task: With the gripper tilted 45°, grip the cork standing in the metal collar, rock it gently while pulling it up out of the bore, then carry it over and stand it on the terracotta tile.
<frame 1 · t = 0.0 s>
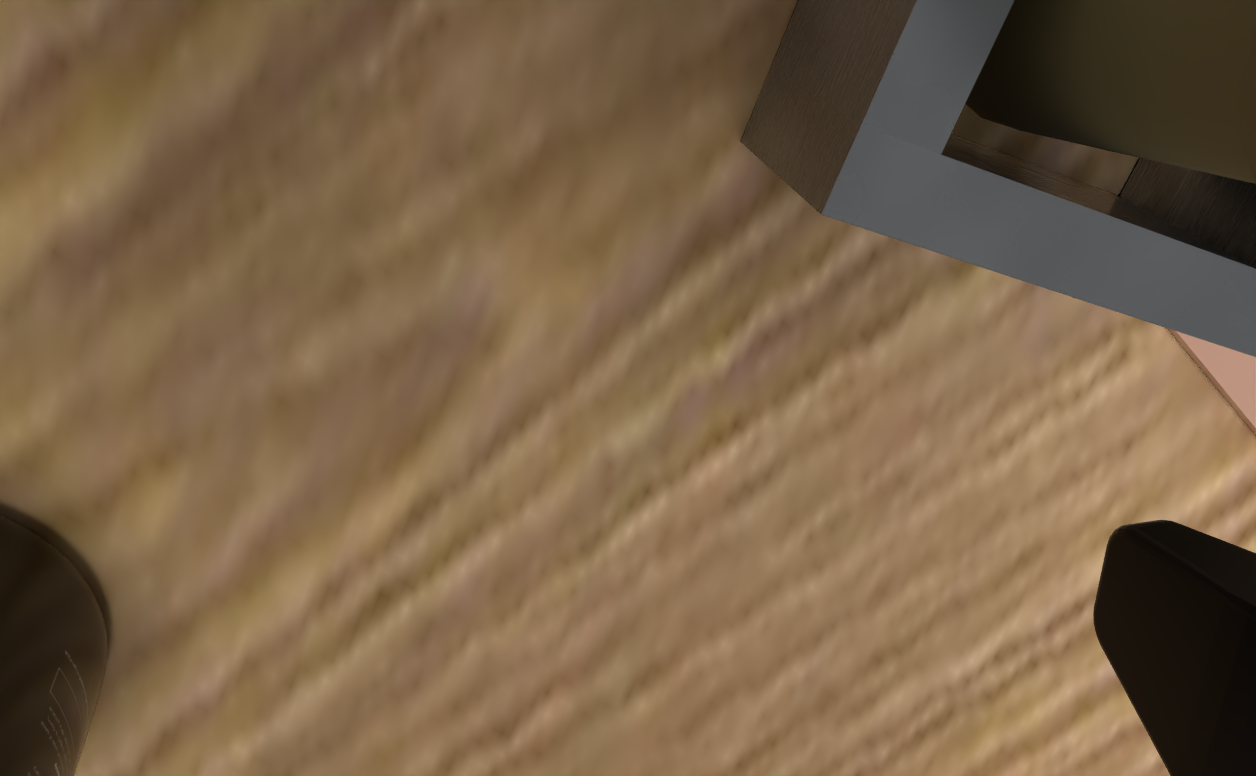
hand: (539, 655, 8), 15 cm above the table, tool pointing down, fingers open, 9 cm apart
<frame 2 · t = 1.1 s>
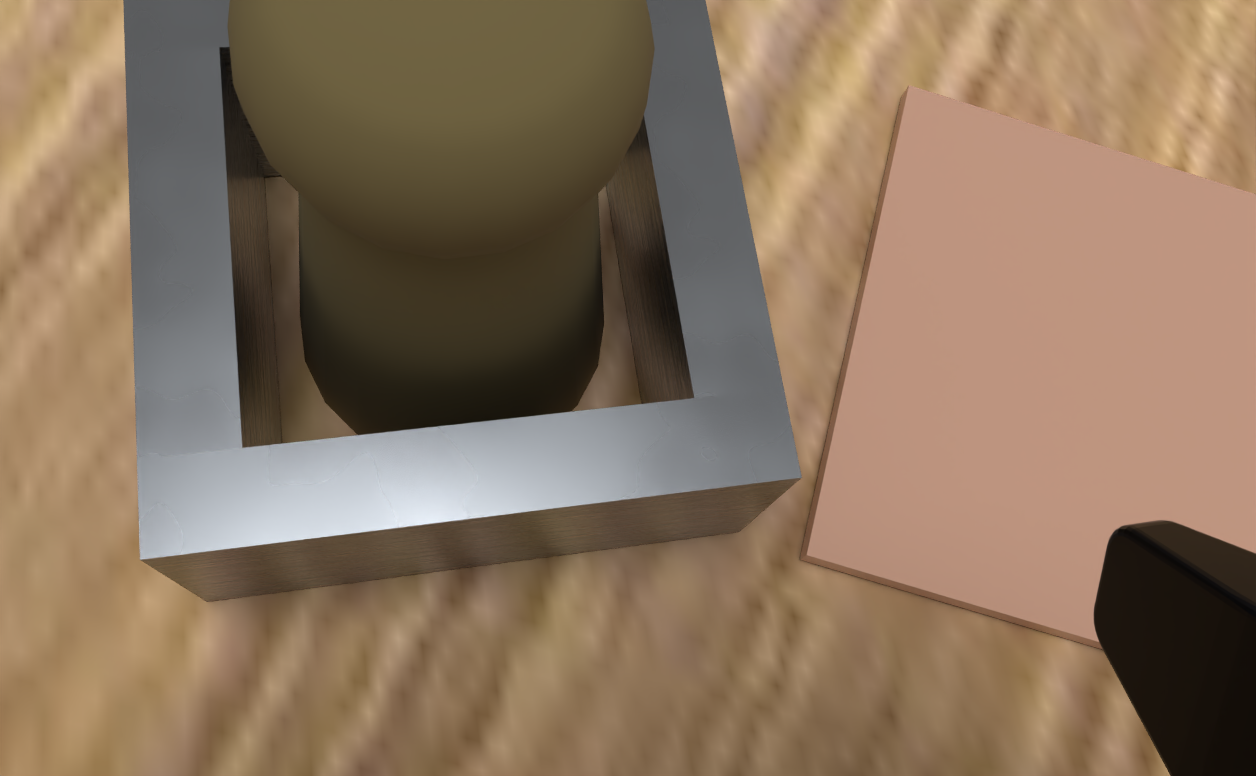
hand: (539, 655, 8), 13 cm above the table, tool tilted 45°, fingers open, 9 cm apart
cork: (454, 323, 23), resting in metal collar
metal collar: (454, 319, 23), on the table
terracotta tile: (1098, 385, 25), on the table
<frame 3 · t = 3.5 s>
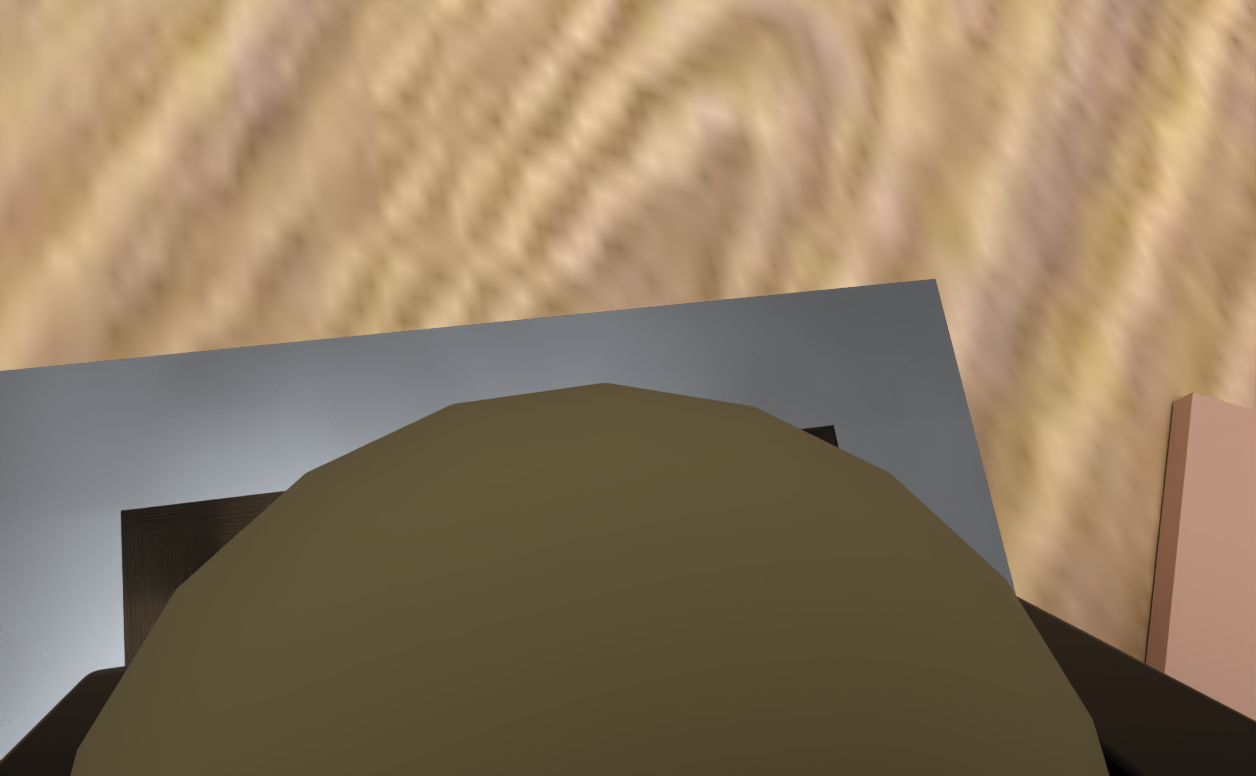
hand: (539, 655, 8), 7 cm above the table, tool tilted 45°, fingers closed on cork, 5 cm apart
when the fingers open (9 cm above the table, at t = 9.0 s): cork drops 1 cm, resting on terracotta tile.
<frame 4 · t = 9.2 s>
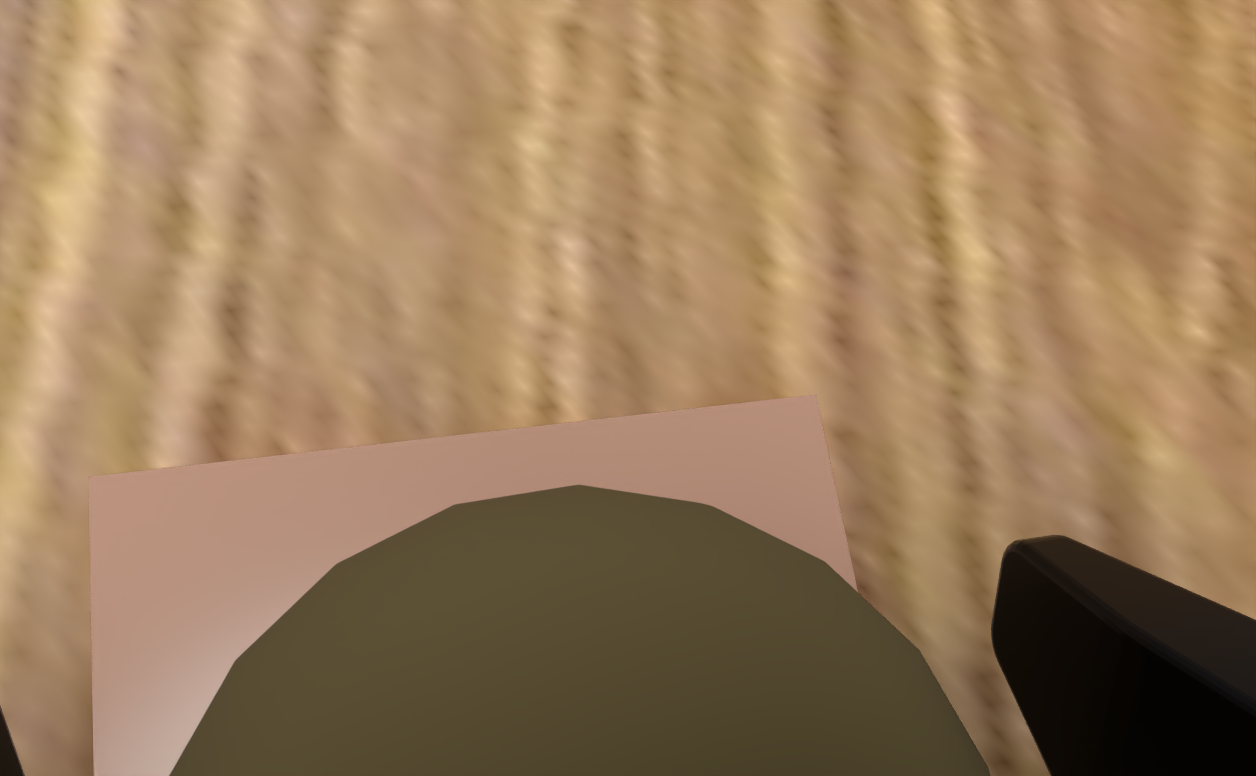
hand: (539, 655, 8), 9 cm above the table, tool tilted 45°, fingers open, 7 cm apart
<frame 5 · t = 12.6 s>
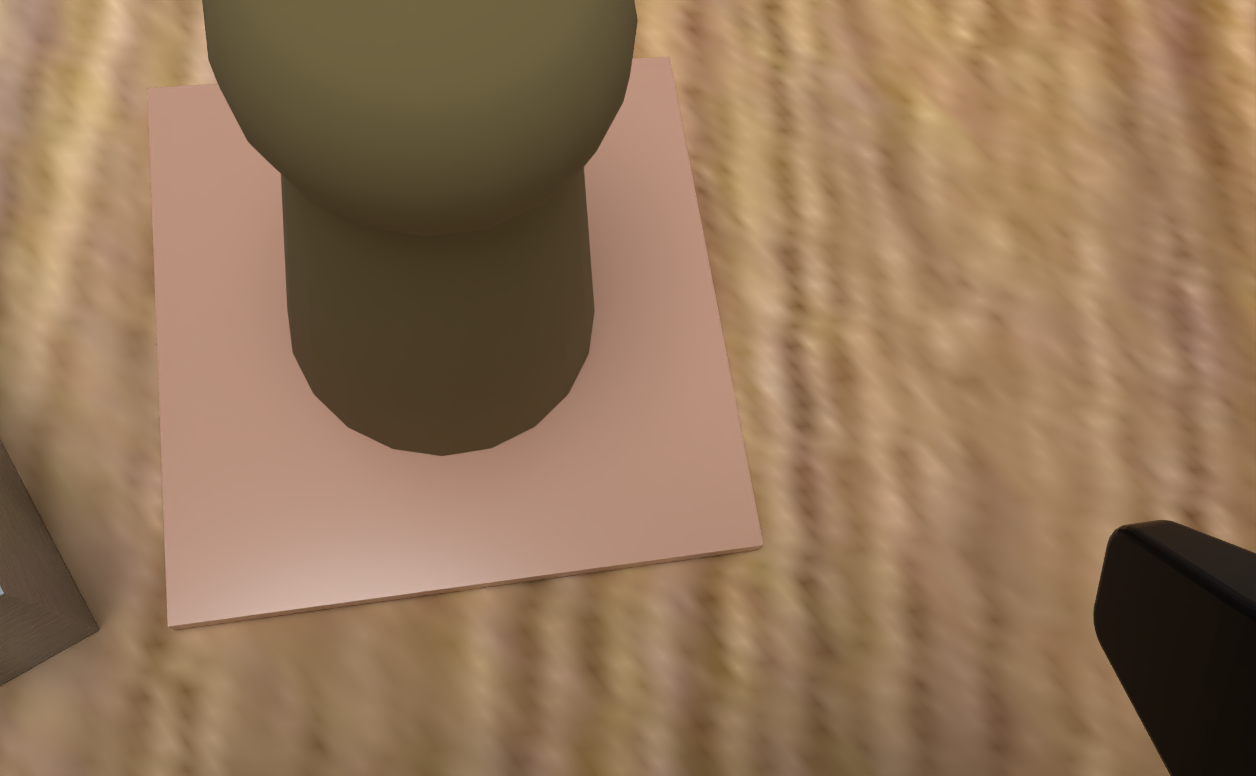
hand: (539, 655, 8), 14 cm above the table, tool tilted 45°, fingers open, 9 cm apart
cork: (443, 313, 23), resting on terracotta tile
terracotta tile: (446, 319, 23), on the table
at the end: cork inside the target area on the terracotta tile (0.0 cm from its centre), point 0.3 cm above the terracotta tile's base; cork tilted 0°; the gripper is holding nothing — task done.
